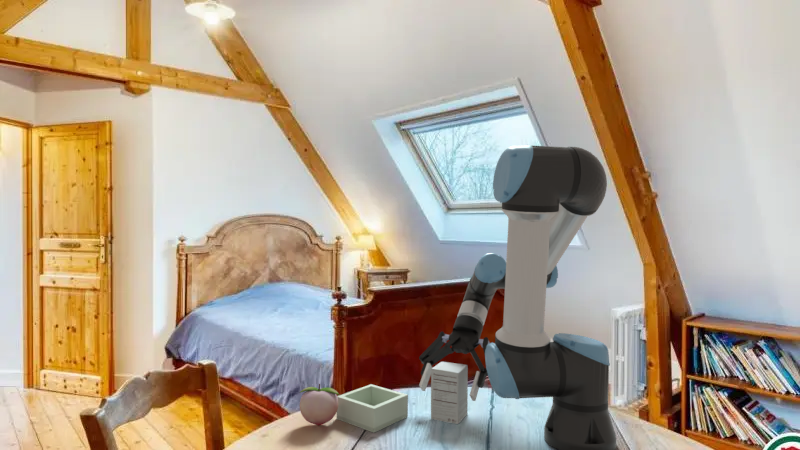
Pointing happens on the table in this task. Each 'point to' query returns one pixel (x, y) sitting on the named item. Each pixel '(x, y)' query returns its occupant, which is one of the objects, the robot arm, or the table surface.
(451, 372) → the supplement box
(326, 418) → the decorative fruit
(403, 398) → the open square container
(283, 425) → the table surface
